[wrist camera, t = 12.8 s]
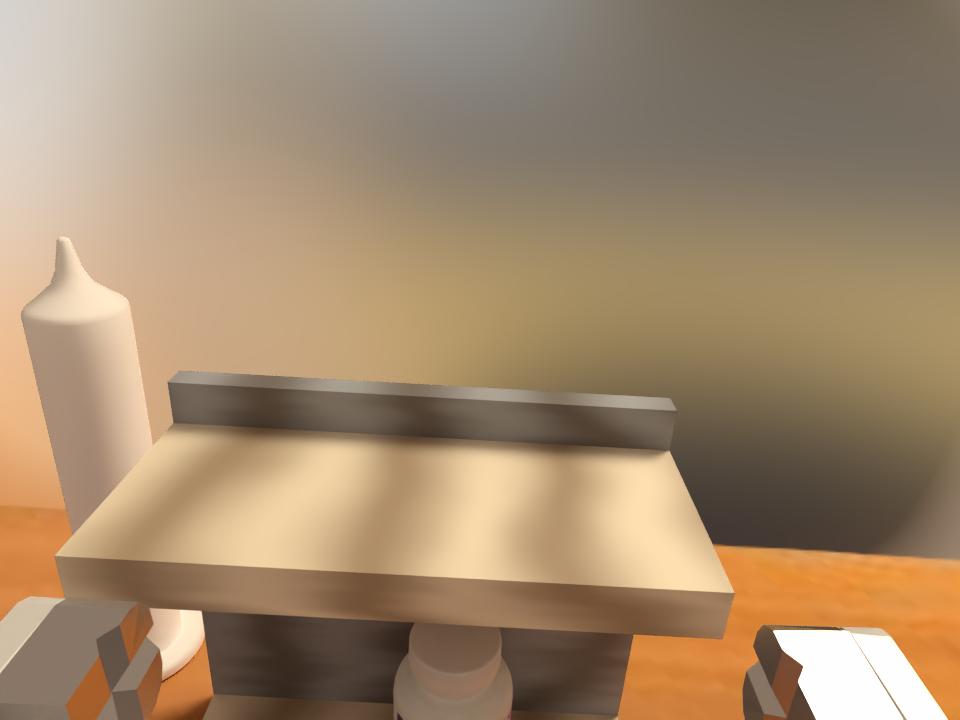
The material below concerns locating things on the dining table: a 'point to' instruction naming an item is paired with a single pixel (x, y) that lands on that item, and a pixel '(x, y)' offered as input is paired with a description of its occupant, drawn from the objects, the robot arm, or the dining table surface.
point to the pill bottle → (453, 675)
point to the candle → (96, 411)
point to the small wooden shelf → (405, 538)
